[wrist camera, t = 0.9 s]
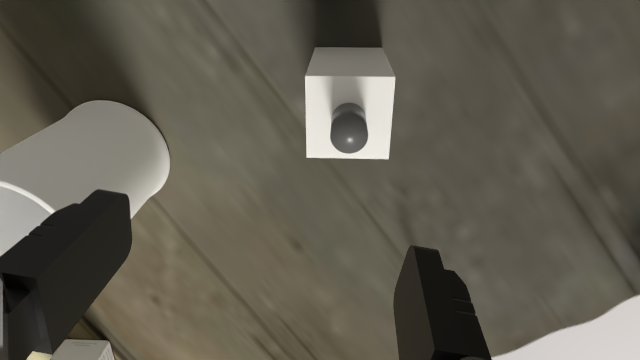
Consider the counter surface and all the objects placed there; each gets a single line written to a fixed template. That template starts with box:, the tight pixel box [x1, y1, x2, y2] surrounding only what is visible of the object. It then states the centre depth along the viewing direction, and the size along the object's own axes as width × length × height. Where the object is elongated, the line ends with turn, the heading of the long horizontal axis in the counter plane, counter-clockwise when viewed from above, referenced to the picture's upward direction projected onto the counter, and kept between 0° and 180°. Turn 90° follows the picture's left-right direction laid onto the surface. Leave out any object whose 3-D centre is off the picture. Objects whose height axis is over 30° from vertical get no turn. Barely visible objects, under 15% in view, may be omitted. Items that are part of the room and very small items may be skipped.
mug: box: [0, 100, 170, 256], centre depth 28 cm, size 12×8×12 cm
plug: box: [305, 47, 395, 159], centre depth 24 cm, size 4×4×10 cm
